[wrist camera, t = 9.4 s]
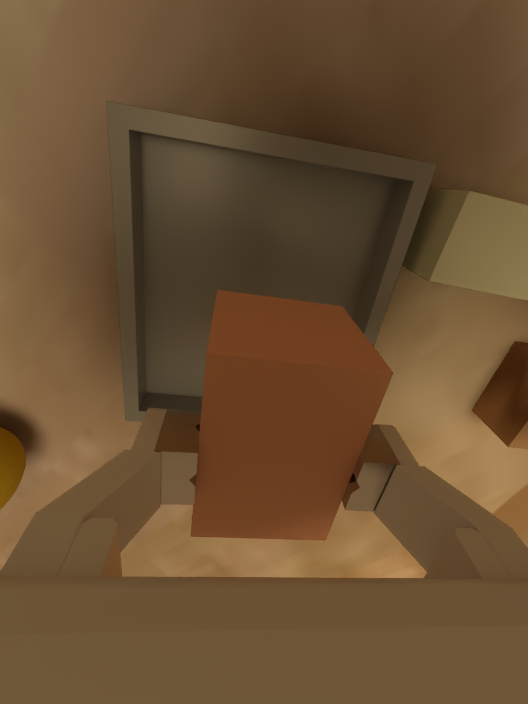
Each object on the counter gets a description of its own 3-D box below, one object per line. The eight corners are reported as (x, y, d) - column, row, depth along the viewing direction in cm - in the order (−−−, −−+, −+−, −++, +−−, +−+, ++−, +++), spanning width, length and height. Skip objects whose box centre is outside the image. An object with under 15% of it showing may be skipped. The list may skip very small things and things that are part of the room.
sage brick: (423, 186, 18) (469, 190, 14) (519, 210, 18) (585, 219, 15) (394, 261, 19) (429, 281, 16) (483, 279, 20) (534, 301, 17)
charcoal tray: (125, 110, 15) (106, 100, 13) (411, 165, 17) (437, 164, 15) (136, 396, 22) (125, 420, 20) (333, 411, 24) (342, 435, 22)
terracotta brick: (217, 289, 10) (206, 353, 7) (341, 306, 11) (393, 372, 7) (203, 437, 13) (190, 536, 9) (302, 443, 13) (325, 540, 10)
